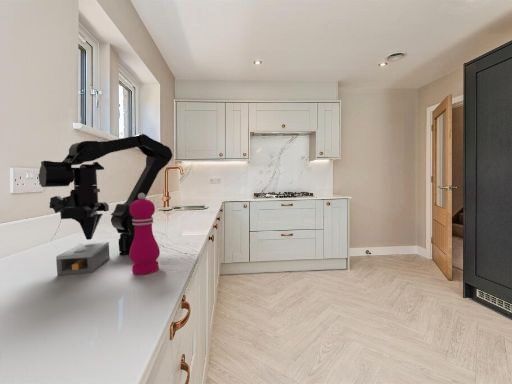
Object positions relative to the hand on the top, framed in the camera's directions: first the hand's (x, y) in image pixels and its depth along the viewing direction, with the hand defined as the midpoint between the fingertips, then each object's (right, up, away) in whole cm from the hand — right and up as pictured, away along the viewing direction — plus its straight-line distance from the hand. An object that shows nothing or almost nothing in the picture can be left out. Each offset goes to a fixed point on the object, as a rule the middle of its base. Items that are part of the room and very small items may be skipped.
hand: (89, 239), depth 80 cm
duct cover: (+1, -3, -3) cm, 4 cm away
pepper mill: (+20, -7, -9) cm, 23 cm away
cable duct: (+1, -7, -3) cm, 8 cm away
